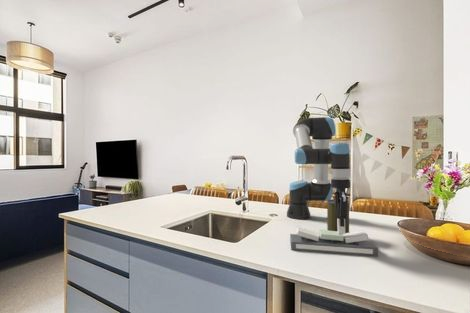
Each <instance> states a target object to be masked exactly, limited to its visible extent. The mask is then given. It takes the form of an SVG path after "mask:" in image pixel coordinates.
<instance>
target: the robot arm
mask: <svg viewBox="0 0 470 313" xmlns="http://www.w3.org/2000/svg"><path fill="white" fill-rule="evenodd" d="M292 131H293V132H292V134H293V136H294V138H295V140H296V147H297V148H296V149H294V163H295V164H297V165H313V178H312V179H311V181H310V182H308V180H297V181H292V182H290V184H289V188H288V190H289V205H288V208H287V211H286V216H287V217H288V218H290V219H295V220H307V219H310V218H311V211H310V208H309V205H308V204H309V203H308V202H327V201H328V200H332V199H333V198H332V197H333V195H334V196H335V205H336V215H337V224H338V233H339V234H345V218H347V201H349V197H348V196H347V195H348V194H347V192H346V189H350V188H351V180H350V178H351V169H350V168H351V167H350V162H351V161H350V154H351V153H350V152H351V150H350V145H349V143H348V142H335V143H331V144H330V142H331V141H332V139H333V137H334V136H336V124H335V120H334V119H333V118H332V117H328V116H324V117H305V118H303V119H300V120H299V121H297V122H296V123H295V125H294V126H293V130H292ZM311 138H312V140H311ZM312 141H314V147H313V143H312ZM329 165H330V170H329ZM329 173H330V177H331V180H330V179H329ZM334 189H335V191H334ZM333 192H334V193H333Z"/></svg>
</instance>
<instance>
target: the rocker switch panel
mask: <svg viewBox="0 0 470 313" xmlns="http://www.w3.org/2000/svg"><path fill="white" fill-rule="evenodd" d="M289 235H290V236H289V238H290V239H289V242H290V250H291V251H303V252H313V253H314V252H316V253H327V254H330V253H331V254H340V255H341V254H342V255H355V256H368V257H378V256H379V247H378V246H377V245H376V244H375V243H374V242H373V241H372V240H370V239H369V240H364V241H357V242H351V243H346V242H345V241H344V239H343V241H339V240H329V239H321V238H320V236H319V240H318V241H315V240H312V239H309V238H305V237H302V236H299V235H297V233H296V234H295V233H290V234H289Z"/></svg>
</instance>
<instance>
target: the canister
mask: <svg viewBox="0 0 470 313" xmlns="http://www.w3.org/2000/svg"><path fill="white" fill-rule="evenodd" d="M326 203H327V212H326V213H327V217H326V218H327V221H326V222H327V223H326V226H327V227H326V228H327V230H328V231H338V224H337V215H336V205H335V195H334V196H333V195H332V198H331V200H328V201H326ZM345 233H350V200H348V201H347V218H345Z"/></svg>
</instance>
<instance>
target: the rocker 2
mask: <svg viewBox="0 0 470 313" xmlns="http://www.w3.org/2000/svg"><path fill="white" fill-rule="evenodd" d="M342 235H343V236H344V241H345V242H346V243H351V242H357V241H364V240H370V238H369V234H368V233H367V232H366V231H364V230H362V229H361V230H357V231H356V230H355V231H351V232H350V231H349V233H345V234H342Z"/></svg>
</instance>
